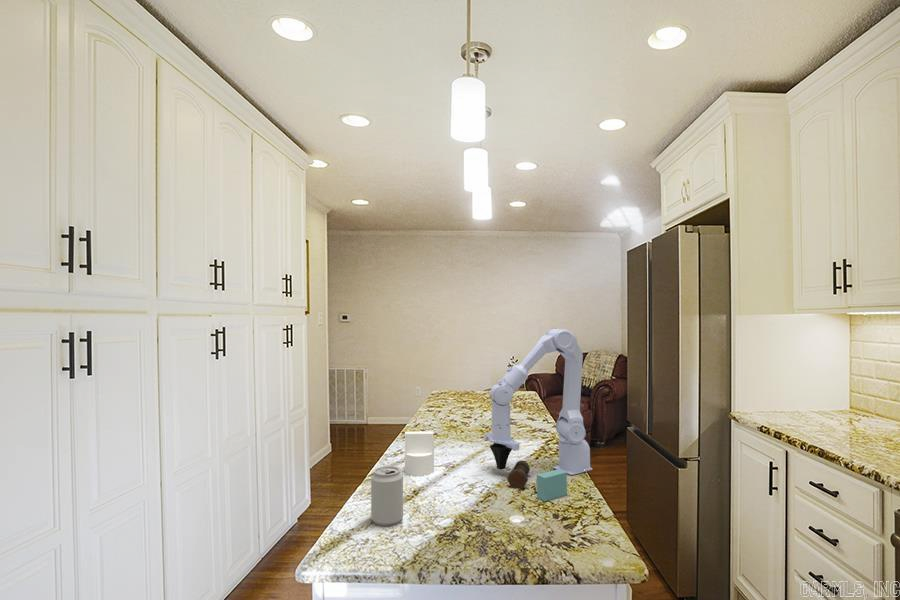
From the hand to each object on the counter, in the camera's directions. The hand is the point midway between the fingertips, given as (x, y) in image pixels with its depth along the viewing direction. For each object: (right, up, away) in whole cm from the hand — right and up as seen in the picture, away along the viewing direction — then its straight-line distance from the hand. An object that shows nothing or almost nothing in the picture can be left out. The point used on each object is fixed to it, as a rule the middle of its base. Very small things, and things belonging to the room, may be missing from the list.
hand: (501, 468), depth 142 cm
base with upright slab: (-25, -2, +2) cm, 25 cm away
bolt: (+5, -2, -5) cm, 7 cm away
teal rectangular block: (+11, -1, -17) cm, 20 cm away
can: (-31, -1, -32) cm, 44 cm away
